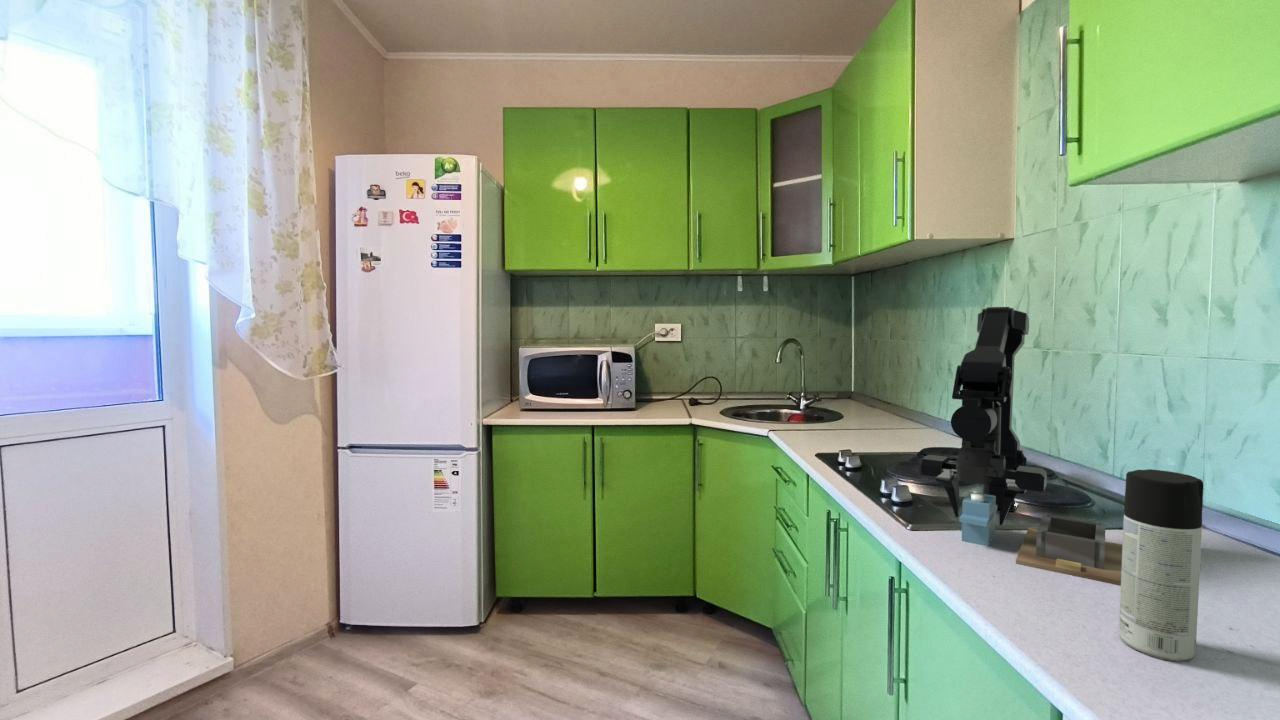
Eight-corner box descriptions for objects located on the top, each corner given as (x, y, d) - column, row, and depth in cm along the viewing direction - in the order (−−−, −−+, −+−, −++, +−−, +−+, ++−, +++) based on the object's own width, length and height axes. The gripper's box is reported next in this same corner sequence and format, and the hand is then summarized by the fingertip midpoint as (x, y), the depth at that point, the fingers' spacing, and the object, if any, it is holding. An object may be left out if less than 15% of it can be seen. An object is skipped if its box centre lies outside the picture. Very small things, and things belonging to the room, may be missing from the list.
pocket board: (1028, 531, 105) (1029, 506, 104) (1122, 548, 97) (1123, 521, 96) (1015, 563, 91) (1016, 534, 90) (1124, 586, 83) (1125, 554, 82)
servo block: (971, 526, 107) (972, 483, 107) (996, 531, 105) (997, 487, 105) (958, 545, 98) (959, 498, 98) (986, 550, 96) (987, 502, 96)
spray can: (1211, 657, 65) (1220, 480, 64) (1168, 668, 63) (1177, 485, 62) (1144, 628, 71) (1151, 466, 70) (1103, 636, 69) (1110, 470, 68)
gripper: (911, 432, 100) (909, 521, 101) (1042, 446, 89) (1039, 546, 89) (926, 424, 109) (925, 506, 110) (1048, 435, 97) (1045, 527, 98)
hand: (978, 520), depth 102 cm, fingers open, 6 cm apart
